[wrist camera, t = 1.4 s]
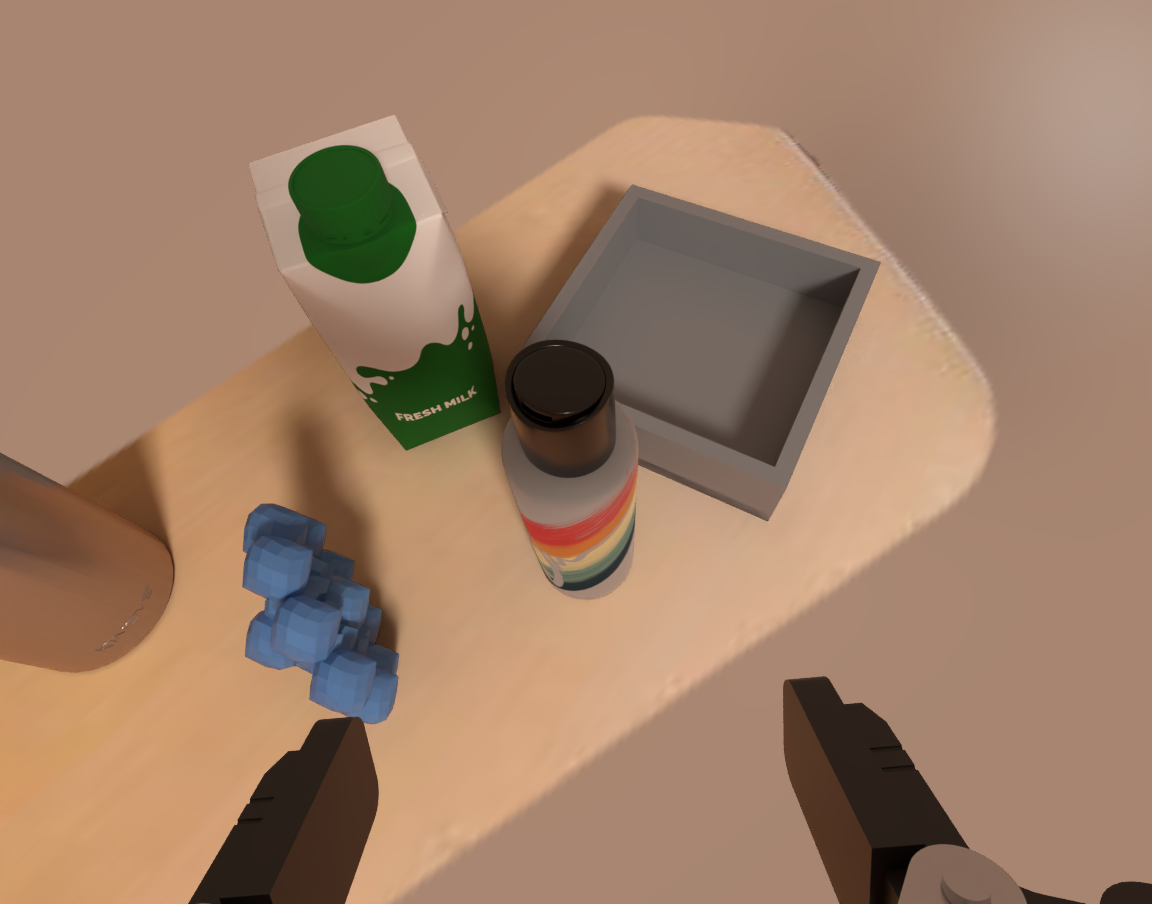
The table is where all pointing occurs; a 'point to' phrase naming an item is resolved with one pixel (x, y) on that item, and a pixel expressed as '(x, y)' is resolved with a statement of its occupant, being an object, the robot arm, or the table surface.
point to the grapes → (315, 615)
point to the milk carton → (380, 276)
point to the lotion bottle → (572, 465)
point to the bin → (713, 339)
